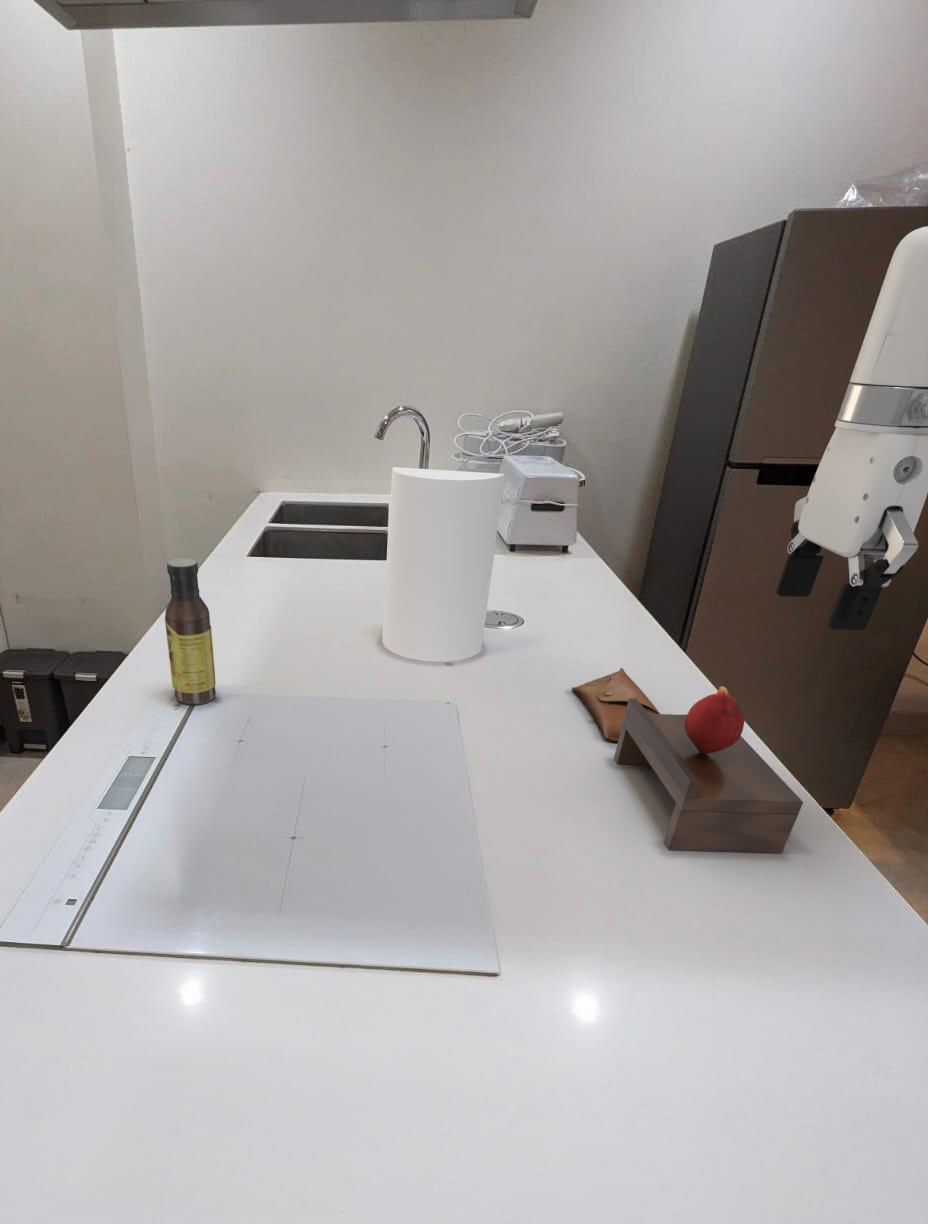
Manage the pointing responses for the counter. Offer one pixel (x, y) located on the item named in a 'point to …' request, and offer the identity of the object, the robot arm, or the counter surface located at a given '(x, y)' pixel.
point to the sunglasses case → (612, 701)
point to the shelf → (710, 787)
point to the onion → (714, 722)
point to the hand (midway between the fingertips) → (817, 611)
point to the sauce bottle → (189, 636)
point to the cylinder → (439, 562)
